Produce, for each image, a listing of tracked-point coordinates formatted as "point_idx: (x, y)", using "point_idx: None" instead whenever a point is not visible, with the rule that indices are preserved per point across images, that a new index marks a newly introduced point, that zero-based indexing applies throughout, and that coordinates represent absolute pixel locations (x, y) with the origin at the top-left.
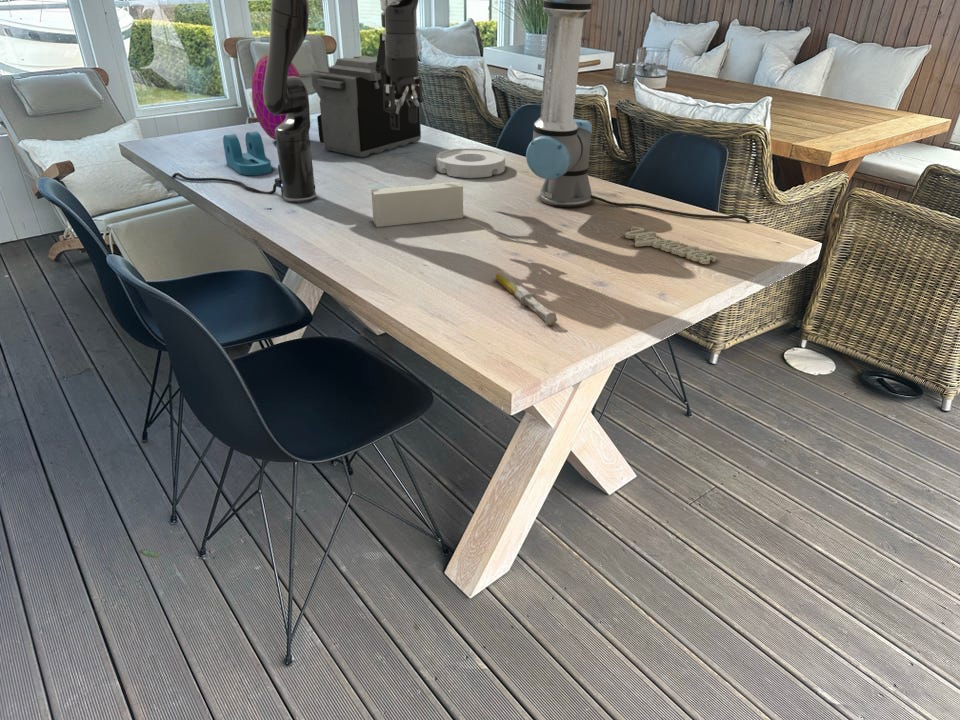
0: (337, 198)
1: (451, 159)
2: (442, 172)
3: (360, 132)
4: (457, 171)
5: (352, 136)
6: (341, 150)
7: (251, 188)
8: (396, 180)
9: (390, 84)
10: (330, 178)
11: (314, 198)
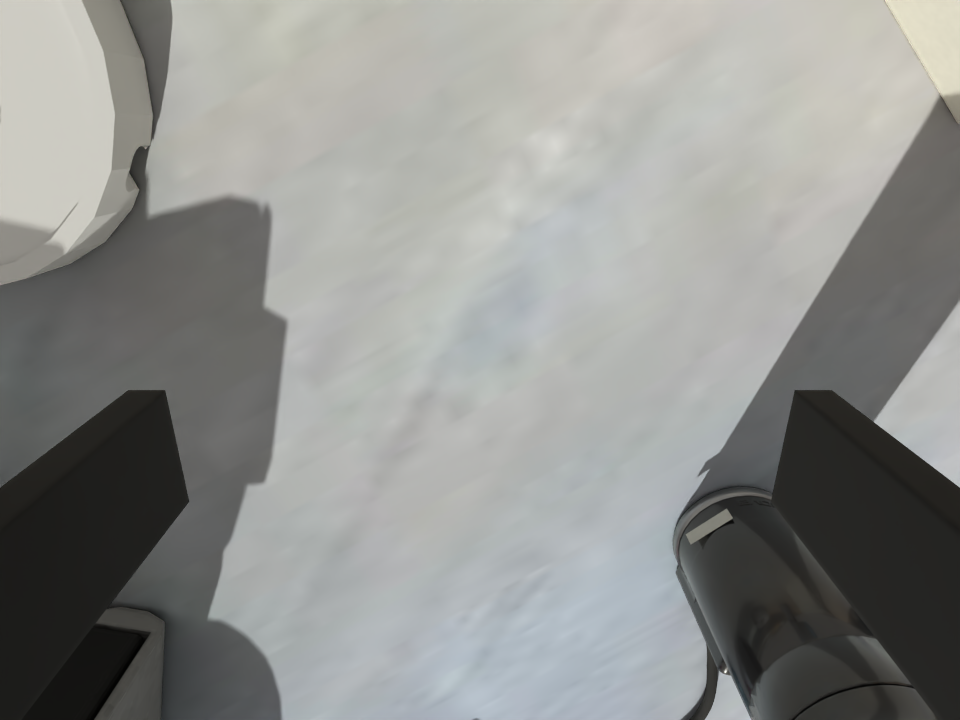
0: (691, 422)
1: (16, 172)
2: (135, 187)
3: (92, 705)
4: (129, 73)
5: (126, 715)
6: (159, 704)
7: (713, 701)
8: (357, 337)
9: (957, 496)
10: (462, 572)
11: (734, 487)
